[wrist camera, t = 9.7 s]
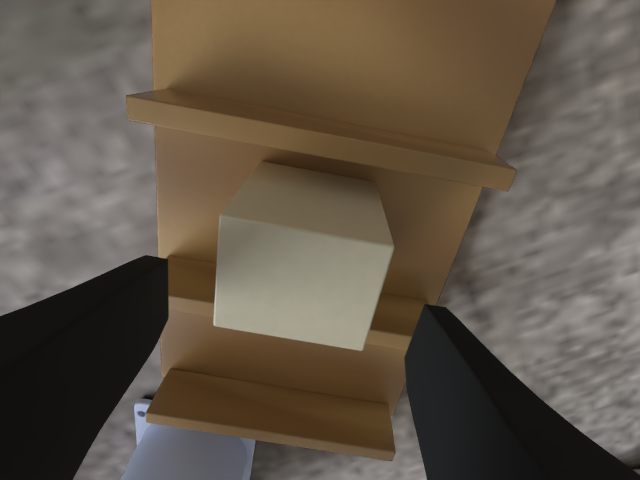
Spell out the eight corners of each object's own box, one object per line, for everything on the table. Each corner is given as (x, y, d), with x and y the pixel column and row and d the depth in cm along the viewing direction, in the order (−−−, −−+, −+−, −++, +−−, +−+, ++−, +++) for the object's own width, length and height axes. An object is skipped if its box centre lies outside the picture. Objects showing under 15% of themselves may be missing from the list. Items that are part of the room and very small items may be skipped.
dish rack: (390, 402, 23) (400, 466, 19) (168, 365, 22) (135, 424, 19) (577, -86, 12) (676, -145, 9) (159, -177, 12) (79, -280, 8)
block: (355, 261, 17) (363, 352, 12) (251, 243, 17) (212, 326, 12) (376, 181, 16) (395, 246, 10) (260, 160, 15) (218, 214, 10)
